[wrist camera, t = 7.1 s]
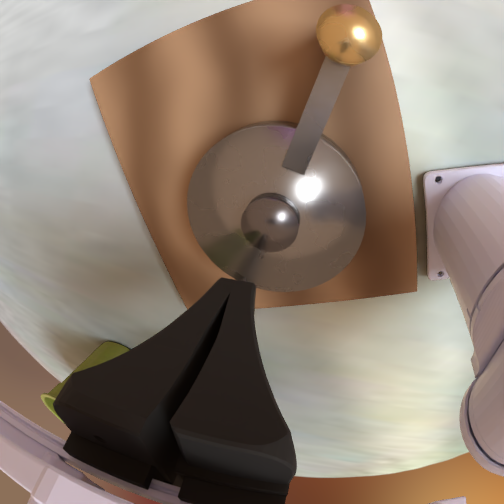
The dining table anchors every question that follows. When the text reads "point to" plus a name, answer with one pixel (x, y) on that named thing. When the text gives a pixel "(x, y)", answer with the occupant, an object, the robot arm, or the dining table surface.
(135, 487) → the robot arm
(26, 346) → the dining table surface
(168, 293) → the dining table surface
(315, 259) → the crank handle wheel
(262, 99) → the cutting board
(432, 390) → the dining table surface
